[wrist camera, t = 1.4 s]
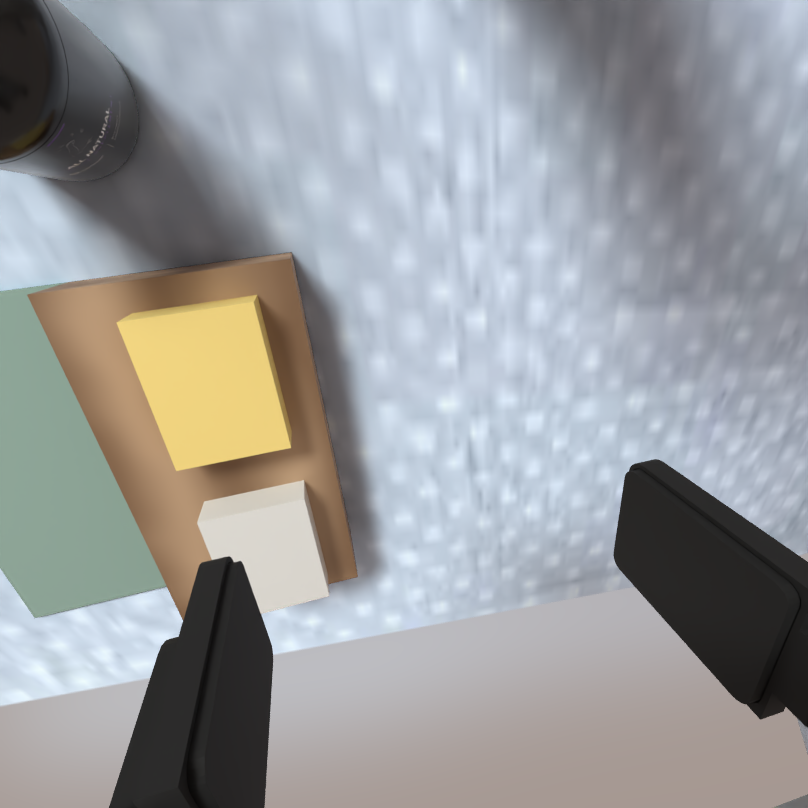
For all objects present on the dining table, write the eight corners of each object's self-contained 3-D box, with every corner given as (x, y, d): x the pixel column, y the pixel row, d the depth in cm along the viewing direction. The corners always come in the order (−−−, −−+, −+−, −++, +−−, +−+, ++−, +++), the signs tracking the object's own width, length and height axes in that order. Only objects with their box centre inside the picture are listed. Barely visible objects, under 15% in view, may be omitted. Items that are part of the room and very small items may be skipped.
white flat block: (303, 480, 27) (304, 499, 25) (327, 573, 30) (329, 596, 28) (203, 501, 26) (196, 523, 24) (240, 595, 29) (236, 620, 28)
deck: (291, 252, 25) (290, 258, 22) (351, 539, 35) (357, 576, 31) (68, 282, 23) (26, 294, 20) (195, 576, 33) (183, 621, 29)
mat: (88, 279, 23) (86, 280, 23) (209, 573, 33) (208, 576, 33) (-169, 314, 22) (-175, 315, 21) (37, 614, 31) (34, 618, 31)
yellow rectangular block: (257, 294, 22) (253, 302, 20) (291, 431, 25) (291, 447, 24) (131, 313, 21) (116, 322, 19) (185, 452, 24) (176, 471, 23)
